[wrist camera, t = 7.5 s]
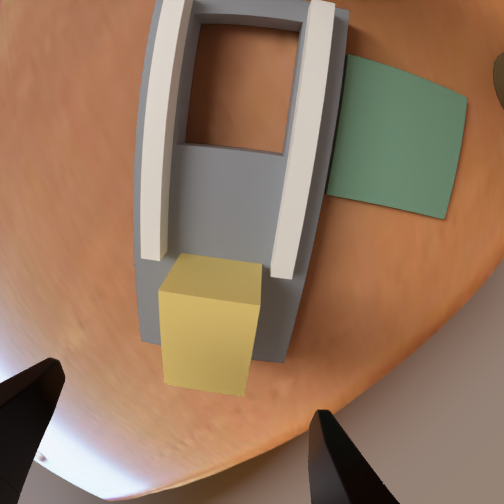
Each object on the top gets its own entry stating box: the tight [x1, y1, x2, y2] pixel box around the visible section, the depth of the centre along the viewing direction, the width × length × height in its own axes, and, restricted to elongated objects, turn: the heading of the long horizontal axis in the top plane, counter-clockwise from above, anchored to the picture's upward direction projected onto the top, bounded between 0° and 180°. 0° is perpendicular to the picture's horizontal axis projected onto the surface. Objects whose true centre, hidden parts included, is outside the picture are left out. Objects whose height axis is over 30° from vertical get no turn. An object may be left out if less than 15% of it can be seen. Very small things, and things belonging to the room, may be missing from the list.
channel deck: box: [133, 0, 349, 363], centre depth 17 cm, size 24×11×4 cm, turn 173°
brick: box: [158, 253, 262, 397], centre depth 18 cm, size 7×5×4 cm
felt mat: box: [325, 54, 467, 219], centre depth 16 cm, size 9×9×1 cm
